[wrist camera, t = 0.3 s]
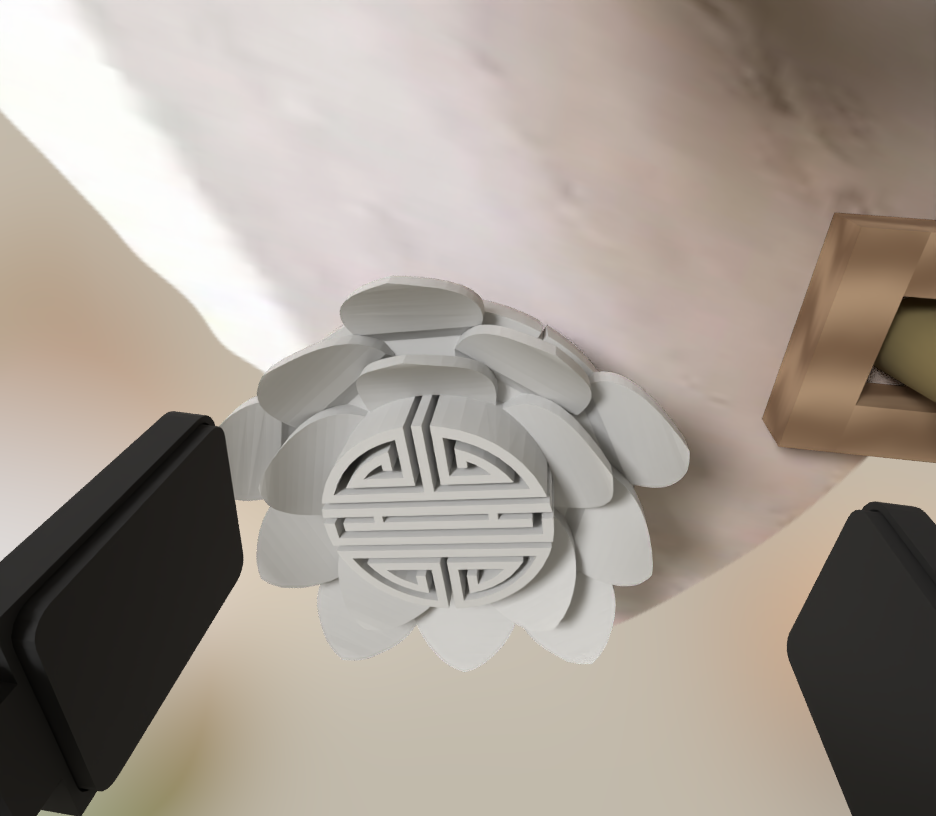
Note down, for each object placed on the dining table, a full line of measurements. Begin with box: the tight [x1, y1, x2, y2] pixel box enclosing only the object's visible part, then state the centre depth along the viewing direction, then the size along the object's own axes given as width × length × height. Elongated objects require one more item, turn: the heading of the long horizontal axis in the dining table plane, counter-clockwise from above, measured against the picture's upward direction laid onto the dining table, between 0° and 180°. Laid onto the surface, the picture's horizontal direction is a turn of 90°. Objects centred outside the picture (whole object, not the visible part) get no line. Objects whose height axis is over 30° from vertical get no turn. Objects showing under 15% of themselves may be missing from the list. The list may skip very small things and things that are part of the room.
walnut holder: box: [762, 213, 936, 463], centre depth 41 cm, size 16×16×4 cm
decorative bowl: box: [219, 276, 690, 672], centre depth 44 cm, size 30×30×15 cm
